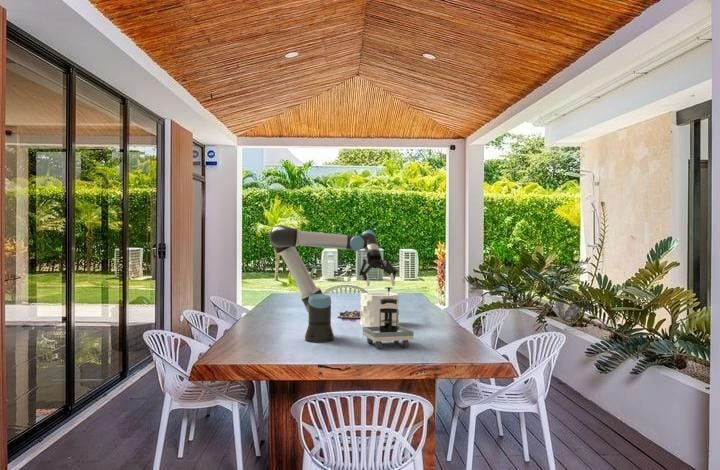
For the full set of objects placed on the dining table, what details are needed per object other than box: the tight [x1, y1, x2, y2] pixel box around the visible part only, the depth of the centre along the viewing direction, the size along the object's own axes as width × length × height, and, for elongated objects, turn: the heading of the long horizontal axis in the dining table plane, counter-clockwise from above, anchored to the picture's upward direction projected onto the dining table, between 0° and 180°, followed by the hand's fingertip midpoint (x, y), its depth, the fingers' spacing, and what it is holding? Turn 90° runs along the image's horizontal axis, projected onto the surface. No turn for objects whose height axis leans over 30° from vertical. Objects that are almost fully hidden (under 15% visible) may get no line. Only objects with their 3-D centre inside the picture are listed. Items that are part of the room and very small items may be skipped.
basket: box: [359, 291, 400, 327], centre depth 376 cm, size 25×24×19 cm
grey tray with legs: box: [362, 325, 414, 350], centre depth 306 cm, size 20×20×8 cm
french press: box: [379, 286, 399, 333], centre depth 306 cm, size 12×9×23 cm
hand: (381, 284), depth 316 cm, fingers open, 13 cm apart
